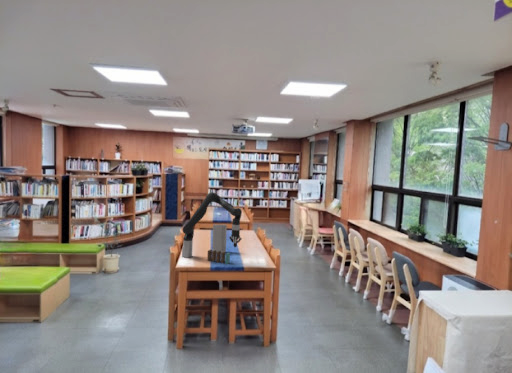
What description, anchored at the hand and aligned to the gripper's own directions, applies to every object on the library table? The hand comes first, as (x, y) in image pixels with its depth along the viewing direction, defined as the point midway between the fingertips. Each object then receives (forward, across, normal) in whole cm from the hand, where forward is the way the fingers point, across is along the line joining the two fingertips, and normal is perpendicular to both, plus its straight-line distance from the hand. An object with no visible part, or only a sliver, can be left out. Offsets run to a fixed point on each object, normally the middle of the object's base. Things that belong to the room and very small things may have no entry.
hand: (235, 247), depth 297 cm
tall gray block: (+17, +34, -30) cm, 48 cm away
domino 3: (+17, +18, 0) cm, 25 cm away
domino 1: (+17, +28, 0) cm, 32 cm away
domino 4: (+17, +13, 0) cm, 21 cm away
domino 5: (+17, +8, 0) cm, 19 cm away
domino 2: (+17, +23, 0) cm, 28 cm away
